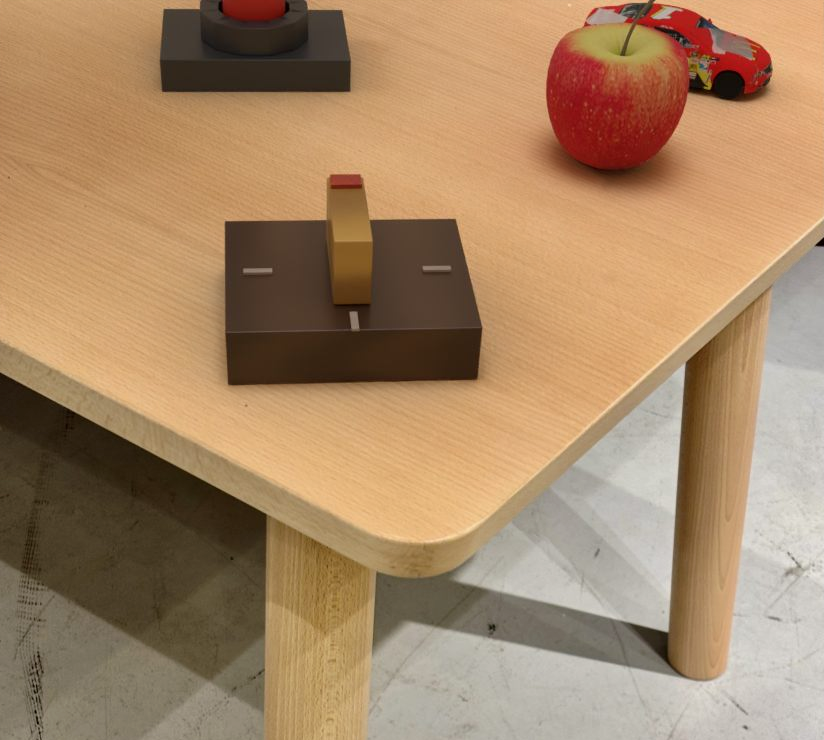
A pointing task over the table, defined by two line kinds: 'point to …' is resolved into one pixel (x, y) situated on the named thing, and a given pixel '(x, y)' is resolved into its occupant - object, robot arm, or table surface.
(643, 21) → the race car
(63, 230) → the table surface
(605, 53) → the apple
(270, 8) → the release button
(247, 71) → the button box
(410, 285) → the plate
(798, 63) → the table surface
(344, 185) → the lock
